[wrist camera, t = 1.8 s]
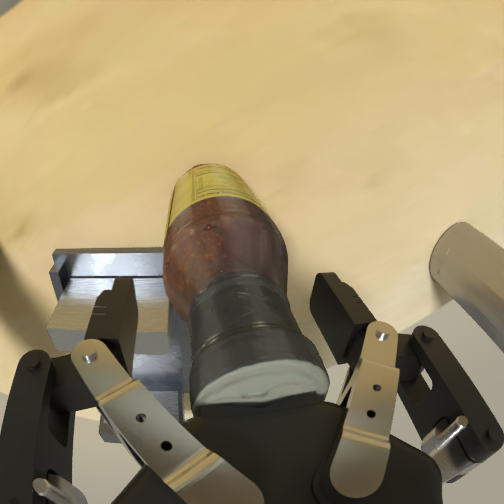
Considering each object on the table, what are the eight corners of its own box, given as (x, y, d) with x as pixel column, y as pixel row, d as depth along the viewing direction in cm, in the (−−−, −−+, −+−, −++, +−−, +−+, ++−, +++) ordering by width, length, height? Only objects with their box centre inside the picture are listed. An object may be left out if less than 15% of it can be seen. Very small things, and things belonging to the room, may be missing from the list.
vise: (186, 247, 27) (186, 312, 19) (193, 386, 37) (199, 444, 29) (55, 249, 24) (17, 308, 16) (101, 384, 34) (93, 440, 26)
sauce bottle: (222, 239, 27) (277, 461, 10) (159, 211, 24) (123, 443, 8) (261, 177, 25) (399, 364, 8) (196, 142, 22) (209, 308, 5)
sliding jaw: (170, 278, 26) (167, 331, 20) (172, 300, 28) (170, 354, 22) (70, 278, 24) (46, 327, 18) (76, 299, 26) (56, 350, 20)
